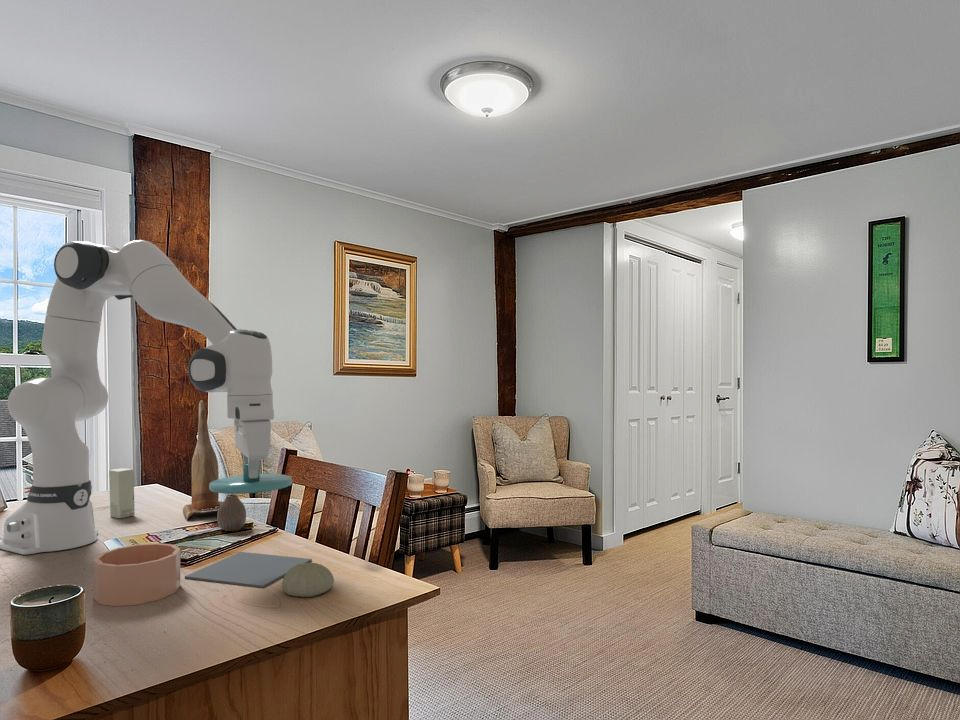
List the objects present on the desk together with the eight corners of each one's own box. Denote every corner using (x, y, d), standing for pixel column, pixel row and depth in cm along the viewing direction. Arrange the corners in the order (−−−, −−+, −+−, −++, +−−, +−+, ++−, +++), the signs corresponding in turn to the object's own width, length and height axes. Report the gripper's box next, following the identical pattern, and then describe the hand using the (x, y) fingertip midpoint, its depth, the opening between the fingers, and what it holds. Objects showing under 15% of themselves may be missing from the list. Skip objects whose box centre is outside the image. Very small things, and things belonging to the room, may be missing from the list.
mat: (184, 578, 129) (184, 576, 129) (240, 553, 145) (240, 551, 145) (263, 587, 124) (263, 585, 124) (311, 560, 140) (311, 558, 140)
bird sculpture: (223, 509, 189) (221, 398, 190) (231, 516, 179) (229, 399, 180) (181, 514, 183) (179, 400, 184) (187, 522, 173) (184, 401, 174)
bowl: (76, 600, 117) (76, 561, 117) (137, 576, 130) (137, 541, 130) (138, 609, 113) (138, 569, 113) (195, 583, 126) (195, 546, 126)
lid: (191, 491, 129) (191, 468, 129) (243, 477, 144) (242, 456, 144) (261, 495, 124) (260, 471, 124) (307, 480, 140) (306, 459, 140)
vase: (236, 534, 161) (236, 498, 161) (211, 532, 163) (211, 497, 162) (251, 526, 168) (251, 492, 168) (227, 525, 169) (227, 491, 169)
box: (135, 515, 180) (135, 469, 180) (119, 519, 176) (119, 471, 176) (124, 513, 182) (124, 467, 182) (108, 516, 179) (108, 469, 179)
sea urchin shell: (311, 593, 115) (288, 556, 118) (289, 618, 118) (267, 582, 121) (347, 578, 123) (325, 544, 126) (326, 602, 126) (305, 568, 129)
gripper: (227, 406, 142) (228, 470, 142) (241, 412, 124) (242, 485, 124) (257, 405, 145) (258, 467, 145) (275, 411, 127) (276, 482, 127)
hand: (251, 476), depth 134 cm, fingers closed on lid, 3 cm apart
